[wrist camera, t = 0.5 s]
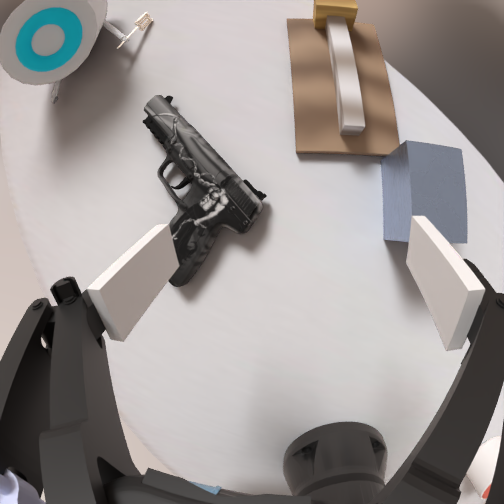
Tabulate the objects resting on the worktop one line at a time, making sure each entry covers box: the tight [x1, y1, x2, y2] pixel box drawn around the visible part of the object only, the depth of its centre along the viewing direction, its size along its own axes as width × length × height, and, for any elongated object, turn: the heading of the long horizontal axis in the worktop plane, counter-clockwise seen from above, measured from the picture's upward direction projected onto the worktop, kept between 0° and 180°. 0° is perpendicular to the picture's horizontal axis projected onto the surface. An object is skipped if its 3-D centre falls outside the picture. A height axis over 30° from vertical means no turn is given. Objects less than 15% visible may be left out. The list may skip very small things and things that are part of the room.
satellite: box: [0, 0, 154, 103], centre depth 23 cm, size 23×20×25 cm
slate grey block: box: [381, 140, 467, 243], centre depth 25 cm, size 9×6×8 cm
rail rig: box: [287, 0, 399, 157], centre depth 25 cm, size 20×12×6 cm, turn 0°
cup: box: [466, 436, 501, 499], centre depth 23 cm, size 10×10×10 cm
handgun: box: [143, 95, 266, 287], centre depth 31 cm, size 20×3×14 cm
